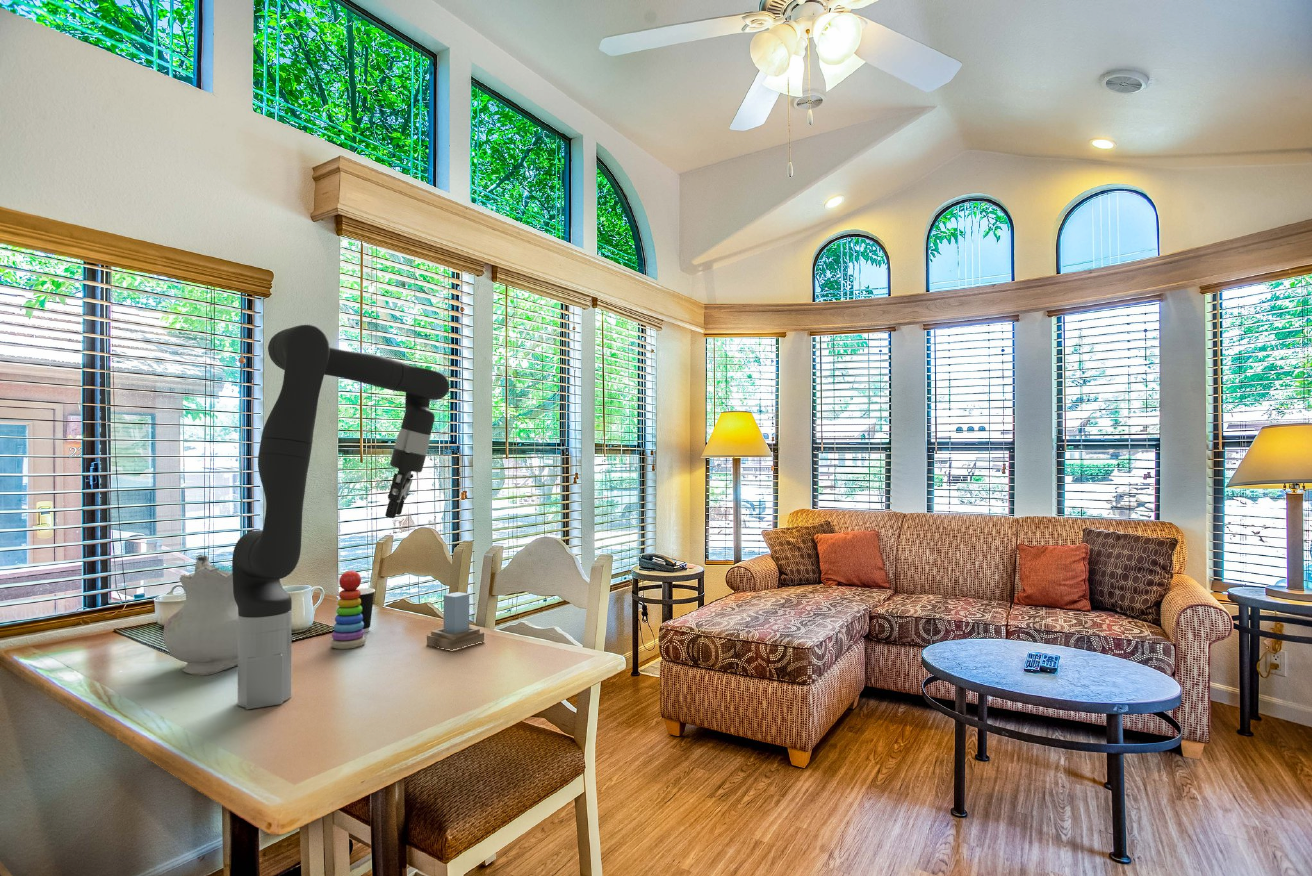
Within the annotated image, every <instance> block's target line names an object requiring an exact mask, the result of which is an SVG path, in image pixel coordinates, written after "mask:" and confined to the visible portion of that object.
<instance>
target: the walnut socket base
mask: <svg viewBox="0 0 1312 876" xmlns="http://www.w3.org/2000/svg"><path fill="white" fill-rule="evenodd" d="M483 641H484V642H485V632H482V631H481V629H480V628H477V627H472V626H469V631H466V632H462V633H458V634H454V635H452V634H448V633H444V627H442V628H439V629H434V630H431V631H430V634H427V635H426V646H428V645H429V646H428V647H432V646H435V647H439V648H444V649H450V650H453V649H457V648H462V647H464V646H468V645H471V644H476V643H478V642H483ZM435 647H434V648H435ZM439 648H438V649H439Z"/></svg>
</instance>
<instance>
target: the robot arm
mask: <svg viewBox="0 0 1312 876" xmlns="http://www.w3.org/2000/svg"><path fill="white" fill-rule="evenodd" d="M267 352H268V356H269V358H270V360H271V362H273V364H274V365H275V366H277V367H278V368H279V369H281V370H283V371H284V374H283V380H282V385H281V389H280V393H279V394H278V397H277V399H276V401H275V403H274V405H273V407H272V408H271V410H270V413H269V415H268V416H267V420H266V421H265V424H264V427H263V429H262V432H261V436H260V437H261V438H260V444H259V449H258V455H257V469H258V475H259V479H260V482H261V485H262V489H263V493H264V496H265V497H264V498H265V515H264V516H265V517H264V521H263V527H262V530H261V529H259V530H258V529H257V530H250V531H249V532H247V533H244V534H243V535H242V536H241V537H239V539H238V540H237V542H236V544H235V546H234V548H233V553H232V558H231V559H232V560H231V561H232V563H231V567H232V569H231V570H232V571H231V572H232V574H233V594H234V599H235V602H236V604H237V606H238V665H237V706H239V707H241V708H244V709H245V710H251V709H258V708H264V707H271V706H277V705H282V704H284V702H286V701H287V700H289V699H290V698H291V696H292V616H293V615H292V612H293V611H292V610H293V609H292V608H293V606H292V605H293V602H292V601H293V599H292V597H291V595H290V594H289V593H288V592H287V591H286V590H285V589H284V587H283V586H282V584H281V580H282V579H284V578H286V577H288V576H289V575H291V573H292V572H293V571H294V570H295V569H296V568H297V565H298V563H299V561H300V558H301V551H302V550H301V549H302V536H303V535H302V533H303V529H302V528H303V524H302V523H303V509H304V500H305V494H306V486H307V478H308V471H309V467H310V462H311V461H310V460H311V454H312V449H313V441H314V431H315V424H316V417H317V414H318V413H317V410H318V403H319V397H320V394H321V393H320V392H321V388H322V384H323V381H324V377H325V376H331V377H336V378H341V379H345V380H350V381H354V382H359V383H362V384H364V385H365V384H366V385H369V386H374V387H376V388H377V387H378V388H381V389H385V390H388V391H393V392H400V393H401V392H402V393H405V399H404V400H405V401H404V405H405V406H404V407H405V408H404V409H405V411H404V415H403V420H402V421H401V426H400V429H399V432H398V434H397V437H396V440H395V444H394V447H393V451H392V453H391V454H392V455H391V459H390V462H389V465H390V466H391V467H392V468H394V469H395V468H396V469H397V472H396V473H394V474H393V476H392V477H393V478H392V482H391V485H390V488H389V492H388V495H387V499H388V503H387V507H386V511H385V517H386V518H390V519H395V518H396V516H399V515H401V514H402V511H403V508H404V504H405V502H406V500H407V499H408V496H409V493H410V491H411V490H410V489H411V486H412V483H413V478H414V474H413V473H421V472H422V471H423V468H424V465H425V461H426V457H427V455H428V454H427V453H428V450H429V445H430V439H431V435H432V430H433V428H434V425H435V424H434V423H435V417H436V416H435V413H434V412H433V411H432V410H430V409H431V408H430V404H431V401H438V400H442V399H444V397H446V396H447V395H448V393H449V391H450V382H449V379H448V378H447V376H445V374H443V373H442V372H440V371H437V370H433V369H429V368H424V367H419V366H415V365H410V364H408V363H405V362H402V361H399V360H395V359H392V358H390V357H386V356H382V355H377V354H371V353H364V352H355V351H349V350H344V349H343V350H342V349H340V348H334V347H331V346H330V342H329V339H328V337H327V335H326V334H325V333H324V331H323V330H322V329H321V328H319V327H317V326H315V325H312V324H300V325H299V324H298V325H296V326H293V327H289V328H288V327H287V328H285V329H283V330H281V331H279V332H277V333H276V334H274V335H273V336H272V337H271V338H270V340H269V342H268V345H267ZM412 472H413V473H412Z"/></svg>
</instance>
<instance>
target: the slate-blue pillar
mask: <svg viewBox="0 0 1312 876" xmlns="http://www.w3.org/2000/svg"><path fill="white" fill-rule="evenodd" d="M469 627H470V593H466V592H460V591H456V592H450V593H447V594H443V628H444V633H448V634H452V635H454V634H458V633H462V632H466V631H469Z"/></svg>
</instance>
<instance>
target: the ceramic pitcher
mask: <svg viewBox="0 0 1312 876" xmlns="http://www.w3.org/2000/svg"><path fill="white" fill-rule="evenodd" d="M195 559H196V562H195V564H194V565H195V566H194V572H192V573H189V574H188V575H187V574H181V575H180V577H179V581H180V583H181V586H182V587H183V590H184V592H185V601H184V604H183V606H182V607H180V608H179V610H177V611H176V612H175V613H173V614H172V615H170V617H169V618H168V619H167V620H166V621H165V623H164V627H163V637H162V639H163V644H164V645H165V647H166V650H167V652H169V654H170V656H172V657H173V658H175V659H176V660H178V661H180V662H185V663H187V664H186V665H185V667H184V668H182V669H181V671H183V672H185V673H187V674H190V675H195V676H209V675H215V674H217V673H221V672H222V671H225V670H228V669H231V668H233V667H238V606H237V604H236V602H235V599H234V594H233V574H232V571H229V570H223V569H220V567H216V566H217V565H216V564H212V565H211V563H210V560H209V557H208V556H207V555H205V554H204V555H202V554H198V555H196V558H195ZM205 674H206V675H205Z"/></svg>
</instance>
